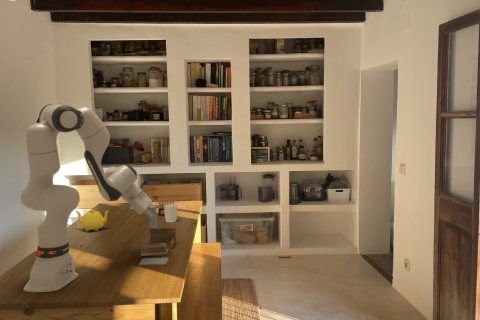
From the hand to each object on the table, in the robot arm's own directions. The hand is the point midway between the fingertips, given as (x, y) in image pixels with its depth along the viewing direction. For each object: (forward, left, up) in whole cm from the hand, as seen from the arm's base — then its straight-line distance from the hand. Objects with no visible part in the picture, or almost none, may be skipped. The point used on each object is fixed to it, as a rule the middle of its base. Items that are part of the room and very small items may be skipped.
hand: (154, 215), depth 208 cm
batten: (0, +1, -6) cm, 6 cm away
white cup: (+62, +1, -19) cm, 64 cm away
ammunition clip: (+77, +6, -19) cm, 79 cm away
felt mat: (-12, -2, -19) cm, 23 cm away
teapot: (+47, +44, -19) cm, 67 cm away
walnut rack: (+12, -1, -19) cm, 22 cm away
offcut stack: (-1, 0, -19) cm, 19 cm away
